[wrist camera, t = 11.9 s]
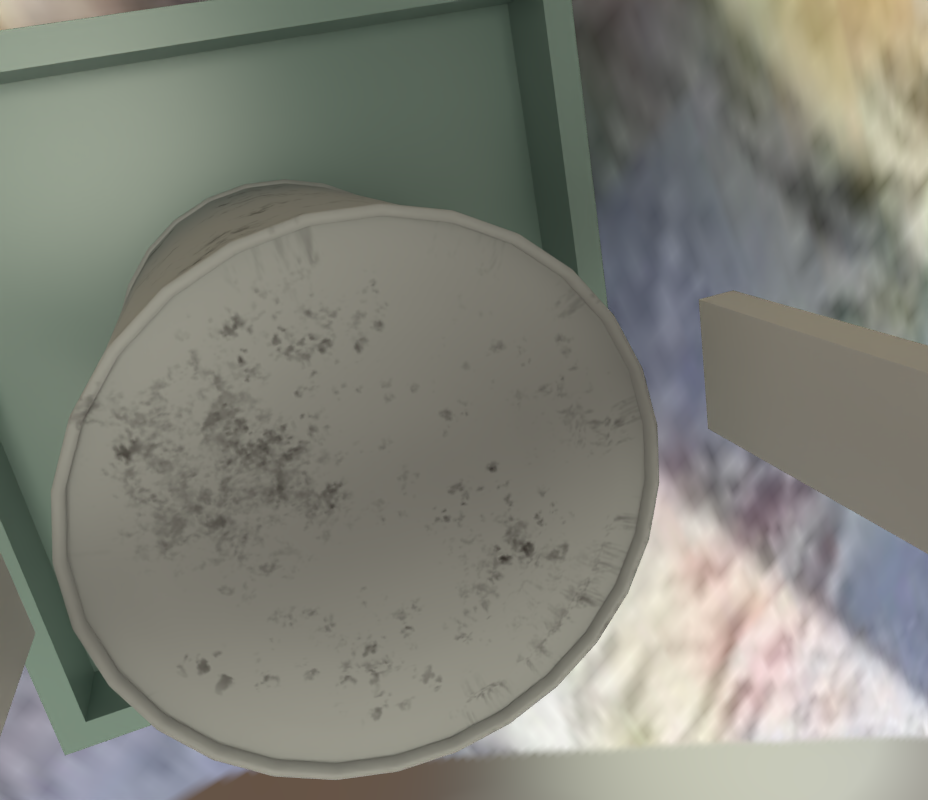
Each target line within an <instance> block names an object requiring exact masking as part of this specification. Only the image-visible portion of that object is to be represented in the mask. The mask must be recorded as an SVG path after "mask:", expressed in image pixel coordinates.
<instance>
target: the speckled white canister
mask: <svg viewBox="0 0 928 800" xmlns="http://www.w3.org/2000/svg"><path fill="white" fill-rule="evenodd" d="M658 486H659V465H658V433H657V423H656V419H655V415H654V411H653V407H652V403H651V399H650V396H649V392H648V388H647V384H646V380H645V376H644V373H643V369H642V367H641V365H640V363H639V361H638V359H637V358H636V356H635V354H634V352H633V350H632V348H631V346H630V344H629V343H628V341H627V339H626V337H625V335H624V333H623V331H622V329H621V328H620V326H619V324H618V322H617V320H616V318H615V316H614V315H613V314H612V313H611V312H610V310H609V309H608V308H607V307H606V306H605V305H604V304H603V303H602V302H601V300H600V299H599V298H598V297H597V296H596V295H595V294H594V293H593V292H592V291H591V289H590V288H589V287H588V286H587V285H586V284H585V283H584V282H583V281H582V279H581V278H580V277H579V276H578V275H577V274H576V273H575V272H574V271H573V270H572V269H571V268H569V267H568V266H566V265H565V264H563V263H562V262H560V261H559V260H557V259H556V258H554V257H553V256H551V255H550V254H548V253H547V252H545V251H544V250H542V249H541V248H539V247H538V246H536V245H535V244H533V243H532V242H530V241H529V240H527V239H526V238H524V237H523V236H521V235H520V234H518V233H515V232H512V231H509V230H507V229H504V228H501V227H498V226H495V225H493V224H490V223H487V222H484V221H481V220H478V219H476V218H473V217H470V216H467V215H464V214H462V213H459V212H456V211H453V210H445V209H435V208H425V207H415V206H405V205H398V204H393V203H389V202H385V201H381V200H376V199H372V198H368V197H364V196H359V195H356V194H353V193H350V192H347V191H344V190H341V189H338V188H335V187H332V186H330V185H327V184H324V183H314V182H305V181H295V180H286V179H283V180H275V181H267V182H259V183H251V184H244V185H242V186H239V187H236V188H233V189H231V190H228V191H225V192H223V193H220V194H217V195H215V196H212V197H209V198H207V199H205V200H204V201H202V202H201V203H199V204H198V205H196V206H195V207H193V208H192V209H190V210H189V211H188V212H186V213H185V214H183V215H182V216H180V217H179V218H177V219H176V220H174V221H173V222H172V223H171V224H170V226H169V227H168V228H167V229H166V230H165V231H164V232H163V233H162V234H161V235H160V236H159V238H158V239H157V240H156V241H155V242H154V243H153V244H152V245H151V246H150V247H149V249H148V250H147V251H146V253H145V255H144V257H143V259H142V260H141V262H140V264H139V266H138V268H137V270H136V272H135V273H134V275H133V277H132V279H131V281H130V283H129V285H128V288H127V292H126V296H125V300H124V304H123V307H122V311H121V314H120V316H119V319H118V321H117V324H116V326H115V328H114V331H113V333H112V336H111V338H110V340H109V343H108V345H107V348H106V350H105V352H104V354H103V356H102V357H101V359H100V361H99V363H98V365H97V367H96V368H95V370H94V372H93V374H92V376H91V378H90V380H89V381H88V383H87V385H86V387H85V389H84V391H83V392H82V394H81V396H80V398H79V400H78V402H77V404H76V405H75V407H74V409H73V411H72V413H71V415H70V417H69V420H68V424H67V428H66V432H65V436H64V440H63V444H62V448H61V452H60V456H59V460H58V464H57V469H56V473H55V477H54V481H53V485H52V489H51V519H52V561H53V566H54V570H55V573H56V576H57V580H58V583H59V586H60V589H61V593H62V596H63V599H64V602H65V606H66V609H67V612H68V616H69V619H70V622H71V625H72V629H73V630H74V632H75V634H76V635H77V637H78V638H79V640H80V641H81V643H82V644H83V646H84V648H85V649H86V651H87V652H88V654H89V655H90V657H91V659H92V660H93V662H94V663H95V665H96V666H97V668H98V669H99V671H100V673H101V674H102V676H103V677H104V679H105V680H106V682H107V684H108V685H109V686H110V687H111V688H112V689H113V690H114V691H115V692H116V693H117V694H118V695H120V696H121V697H122V698H123V699H124V700H125V701H126V702H127V703H128V704H129V705H130V706H132V707H133V708H134V709H135V710H136V711H137V712H138V713H139V714H140V715H141V716H143V717H144V718H145V719H146V720H147V721H148V722H149V723H150V724H151V725H152V726H154V727H155V728H156V729H157V730H159V731H160V732H162V733H164V734H166V735H168V736H170V737H172V738H173V739H175V740H177V741H179V742H181V743H183V744H185V745H186V746H188V747H190V748H192V749H194V750H196V751H198V752H199V753H201V754H203V755H205V756H207V757H209V758H211V759H213V760H216V761H219V762H223V763H227V764H230V765H234V766H238V767H241V768H245V769H249V770H252V771H256V772H260V773H264V774H267V775H271V776H277V777H296V778H312V779H330V780H338V779H346V778H354V777H361V776H368V775H376V774H382V773H390V772H398V771H401V770H404V769H407V768H410V767H413V766H416V765H419V764H422V763H425V762H428V761H431V760H434V759H437V758H440V757H443V756H446V755H449V754H452V753H455V752H458V751H459V750H461V749H463V748H465V747H467V746H469V745H471V744H472V743H474V742H476V741H478V740H480V739H482V738H484V737H486V736H487V735H489V734H491V733H493V732H495V731H497V730H499V729H500V728H502V727H504V726H506V725H508V724H510V723H511V722H512V721H514V720H515V719H516V718H517V717H519V716H520V715H521V714H523V713H524V712H525V711H526V710H528V709H529V708H530V707H532V706H533V705H534V704H535V703H537V702H538V701H539V700H540V699H542V698H543V697H544V696H546V695H547V694H548V693H549V692H551V691H552V690H553V689H555V688H556V687H557V686H558V685H559V684H560V683H561V682H562V681H563V679H564V678H565V677H566V676H567V675H568V674H569V673H570V672H571V671H572V669H573V668H574V667H575V666H576V665H577V664H578V663H579V662H580V661H581V660H582V658H583V657H584V656H585V655H586V654H587V653H588V652H589V651H590V650H591V648H592V647H593V646H594V645H595V644H596V643H597V641H598V640H599V638H600V637H601V635H602V633H603V632H604V630H605V629H606V627H607V625H608V624H609V622H610V621H611V619H612V617H613V616H614V614H615V613H616V611H617V610H618V608H619V606H620V605H621V603H622V602H623V600H624V598H625V597H626V595H627V594H628V591H629V589H630V586H631V584H632V581H633V578H634V576H635V573H636V571H637V568H638V566H639V563H640V561H641V558H642V556H643V553H644V550H645V548H646V545H647V543H648V540H649V536H650V530H651V525H652V519H653V514H654V508H655V503H656V497H657V491H658Z"/></svg>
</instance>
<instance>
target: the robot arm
mask: <svg viewBox="0 0 928 800" xmlns="http://www.w3.org/2000/svg"><path fill="white" fill-rule="evenodd" d="M699 307H700V321H701V335H702V349H703V363H704V377H705V391H706V404H707V418H708V429H710V430H712V431H713V432H715V433H717V434H719V435H720V436H722V437H724V438H726V439H727V440H729V441H731V442H733V443H734V444H736V445H738V446H740V447H741V448H743V449H745V450H747V451H748V452H750V453H752V454H754V455H755V456H757V457H759V458H761V459H763V460H764V461H766V462H768V463H770V464H771V465H773V466H775V467H777V468H778V469H780V470H782V471H784V472H785V473H787V474H789V475H791V476H792V477H794V478H796V479H798V480H799V481H801V482H803V483H805V484H806V485H808V486H810V487H812V488H813V489H815V490H817V491H819V492H820V493H822V494H824V495H826V496H827V497H829V498H831V499H833V500H834V501H836V502H838V503H840V504H841V505H843V506H845V507H847V508H848V509H850V510H852V511H854V512H855V513H857V514H859V515H861V516H862V517H864V518H866V519H868V520H869V521H871V522H873V523H875V524H877V525H878V526H880V527H882V528H884V529H885V530H887V531H889V532H891V533H892V534H894V535H896V536H898V537H899V538H901V539H903V540H905V541H906V542H908V543H910V544H912V545H913V546H915V547H917V548H919V549H920V550H922V551H924V552H926V553H927V554H928V346H927V345H924V344H920V343H916V342H913V341H909V340H906V339H902V338H899V337H895V336H892V335H888V334H885V333H881V332H878V331H874V330H871V329H867V328H863V327H860V326H856V325H853V324H849V323H846V322H842V321H839V320H835V319H832V318H828V317H825V316H821V315H818V314H814V313H810V312H807V311H803V310H800V309H796V308H793V307H789V306H786V305H782V304H779V303H775V302H772V301H768V300H765V299H761V298H758V297H754V296H750V295H747V294H743V293H740V292H736V291H730V292H726V293H722V294H718V295H715V296H711V297H707V298H703V299H699ZM34 636H35V631H34V629H33V626H32V624H31V622H30V619H29V617H28V615H27V612H26V610H25V608H24V606H23V603H22V601H21V599H20V596H19V594H18V592H17V589H16V587H15V585H14V582H13V580H12V578H11V576H10V573H9V571H8V569H7V566H6V564H5V562H4V559H3V557H2V555H1V552H0V736H1V733H2V730H3V727H4V724H5V721H6V718H7V715H8V712H9V709H10V706H11V703H12V700H13V697H14V694H15V691H16V689H17V686H18V683H19V680H20V677H21V674H22V671H23V668H24V665H25V662H26V659H27V656H28V653H29V650H30V647H31V644H32V642H33V639H34Z"/></svg>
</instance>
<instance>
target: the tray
mask: <svg viewBox="0 0 928 800" xmlns="http://www.w3.org/2000/svg"><path fill="white" fill-rule="evenodd" d="M283 179H286V180H295V181H305V182H314V183H324V184H327V185H330V186H332V187H335V188H338V189H341V190H344V191H347V192H350V193H353V194H356V195H359V196H364V197H368V198H372V199H376V200H381V201H385V202H389V203H393V204H398V205H405V206H415V207H425V208H435V209H445V210H453V211H456V212H459V213H462V214H464V215H467V216H470V217H473V218H476V219H478V220H481V221H484V222H487V223H490V224H493V225H495V226H498V227H501V228H504V229H507V230H509V231H512V232H515V233H518V234H520V235H521V236H523V237H524V238H526V239H527V240H529V241H530V242H532V243H533V244H535V245H536V246H538V247H539V248H541V249H542V250H544V251H545V252H547V253H548V254H550V255H551V256H553V257H554V258H556V259H557V260H559V261H560V262H562V263H563V264H565V265H566V266H568V267H569V268H571V269H572V270H573V271H574V272H575V273H576V274H577V275H578V276H579V277H580V278H581V279H582V281H583V282H584V283H585V284H586V285H587V286H588V287H589V288H590V289H591V291H592V292H593V293H594V294H595V295H596V296H597V297H598V298H599V299H600V300H601V302H602V303H603V304H604V305H605V306H606V307H607V308H608V305H607V297H606V288H605V280H604V271H603V263H602V254H601V246H600V238H599V229H598V221H597V212H596V204H595V195H594V187H593V178H592V170H591V161H590V153H589V145H588V136H587V128H586V119H585V111H584V102H583V94H582V85H581V77H580V68H579V60H578V52H577V43H576V35H575V26H574V18H573V9H572V1H571V0H209V1H202V2H195V3H188V4H181V5H174V6H167V7H160V8H153V9H146V10H139V11H132V12H125V13H118V14H112V15H105V16H98V17H91V18H84V19H77V20H70V21H63V22H56V23H49V24H42V25H35V26H28V27H21V28H14V29H7V30H1V31H0V552H1V555H2V557H3V559H4V562H5V564H6V566H7V569H8V571H9V573H10V576H11V578H12V580H13V582H14V585H15V587H16V589H17V592H18V594H19V596H20V599H21V601H22V603H23V606H24V608H25V610H26V612H27V615H28V617H29V619H30V622H31V624H32V626H33V629H34V631H35V636H34V639H33V642H32V644H31V647H30V650H29V653H28V656H27V659H26V662H25V665H26V668H27V670H28V672H29V674H30V677H31V679H32V681H33V684H34V686H35V688H36V690H37V693H38V695H39V697H40V699H41V702H42V704H43V706H44V709H45V711H46V713H47V715H48V718H49V720H50V722H51V724H52V727H53V729H54V731H55V734H56V736H57V738H58V740H59V743H60V745H61V747H62V749H63V752H64V754H65V755H67V754H70V753H73V752H76V751H79V750H82V749H85V748H87V747H90V746H93V745H96V744H99V743H102V742H104V741H107V740H110V739H113V738H116V737H119V736H121V735H124V734H127V733H130V732H133V731H136V730H138V729H141V728H144V727H147V726H150V725H151V724H150V723H149V722H148V721H147V720H146V719H145V718H144V717H143V716H141V715H140V714H139V713H138V712H137V711H136V710H135V709H134V708H133V707H132V706H130V705H129V704H128V703H127V702H126V701H125V700H124V699H123V698H122V697H121V696H120V695H118V694H117V693H116V692H115V691H114V690H113V689H112V688H111V687H110V686H109V685H108V684H107V682H106V680H105V679H104V677H103V676H102V674H101V673H100V671H99V669H98V668H97V666H96V665H95V663H94V662H93V660H92V659H91V657H90V655H89V654H88V652H87V651H86V649H85V648H84V646H83V644H82V643H81V641H80V640H79V638H78V637H77V635H76V634H75V632H74V630H73V629H72V625H71V622H70V619H69V616H68V612H67V609H66V606H65V602H64V599H63V596H62V593H61V589H60V586H59V583H58V580H57V576H56V573H55V570H54V566H53V561H52V519H51V489H52V485H53V481H54V477H55V473H56V469H57V464H58V460H59V456H60V452H61V448H62V444H63V440H64V436H65V432H66V428H67V424H68V420H69V417H70V415H71V413H72V411H73V409H74V407H75V405H76V404H77V402H78V400H79V398H80V396H81V394H82V392H83V391H84V389H85V387H86V385H87V383H88V381H89V380H90V378H91V376H92V374H93V372H94V370H95V368H96V367H97V365H98V363H99V361H100V359H101V357H102V356H103V354H104V352H105V350H106V348H107V345H108V343H109V340H110V338H111V336H112V333H113V331H114V328H115V326H116V324H117V321H118V319H119V316H120V314H121V311H122V307H123V304H124V300H125V296H126V292H127V288H128V285H129V283H130V281H131V279H132V277H133V275H134V273H135V272H136V270H137V268H138V266H139V264H140V262H141V260H142V259H143V257H144V255H145V253H146V251H147V250H148V249H149V247H150V246H151V245H152V244H153V243H154V242H155V241H156V240H157V239H158V238H159V236H160V235H161V234H162V233H163V232H164V231H165V230H166V229H167V228H168V227H169V226H170V224H171V223H172V222H173V221H174V220H176V219H177V218H179V217H180V216H182V215H183V214H185V213H186V212H188V211H189V210H190V209H192V208H193V207H195V206H196V205H198V204H199V203H201V202H202V201H204V200H205V199H207V198H209V197H212V196H215V195H217V194H220V193H223V192H225V191H228V190H231V189H233V188H236V187H239V186H242V185H244V184H251V183H259V182H267V181H275V180H283Z"/></svg>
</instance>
